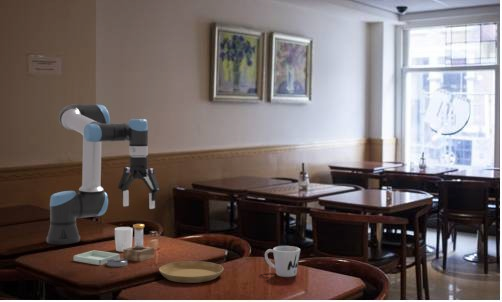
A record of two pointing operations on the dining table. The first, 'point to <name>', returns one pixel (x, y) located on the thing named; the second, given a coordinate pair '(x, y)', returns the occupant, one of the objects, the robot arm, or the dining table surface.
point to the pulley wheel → (117, 262)
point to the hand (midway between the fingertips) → (138, 207)
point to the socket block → (138, 254)
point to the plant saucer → (191, 271)
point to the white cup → (123, 238)
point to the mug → (284, 260)
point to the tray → (95, 257)
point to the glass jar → (138, 236)
